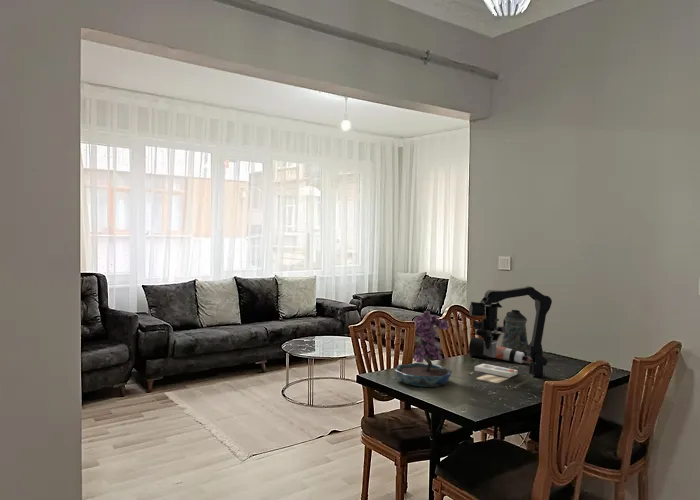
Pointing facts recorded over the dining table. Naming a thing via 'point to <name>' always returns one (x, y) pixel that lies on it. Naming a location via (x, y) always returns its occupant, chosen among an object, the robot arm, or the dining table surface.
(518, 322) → the beer stein
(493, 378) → the birch pad
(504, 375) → the switch housing
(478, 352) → the striped cylinder
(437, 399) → the dining table surface
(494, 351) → the block
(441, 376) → the bonsai tree
